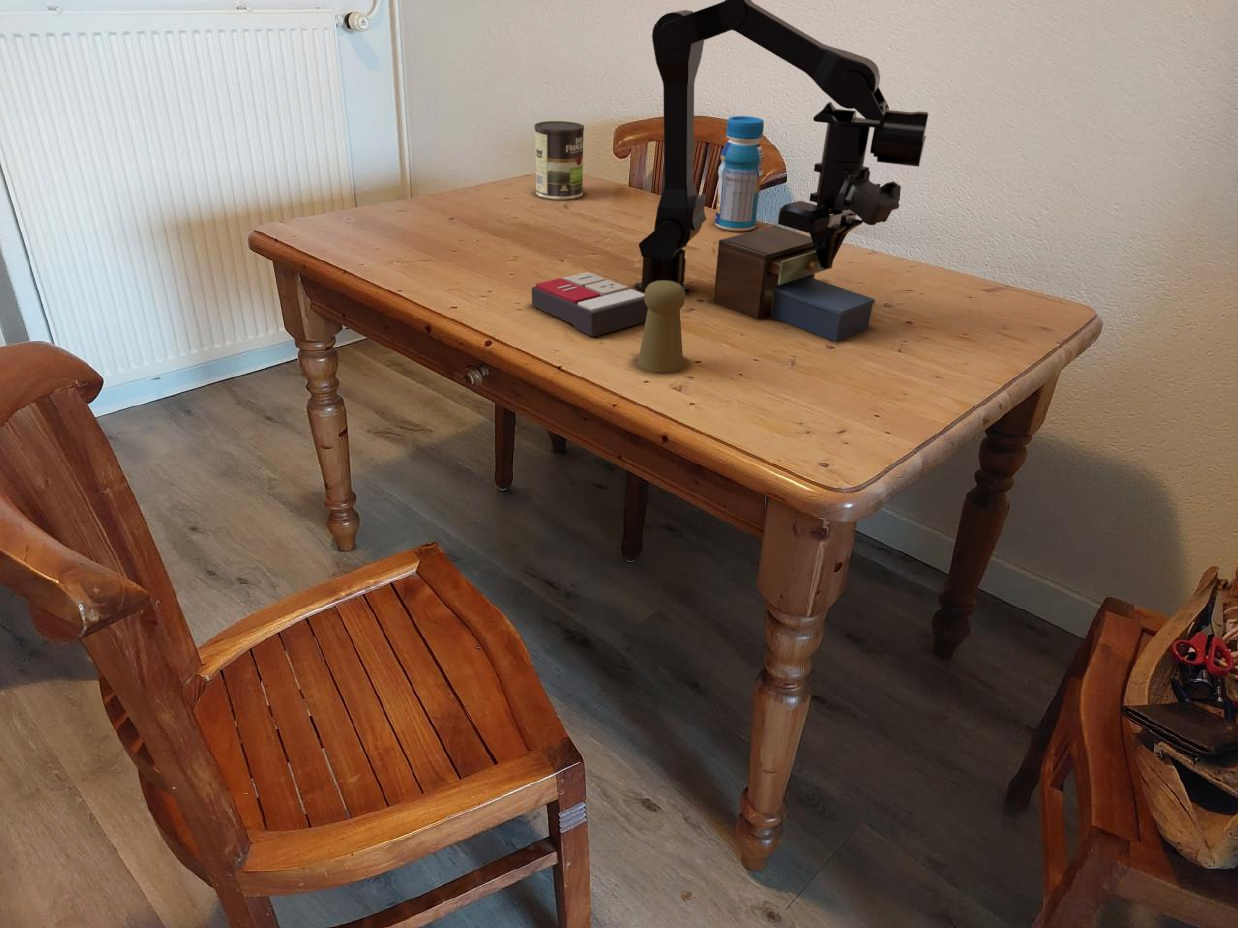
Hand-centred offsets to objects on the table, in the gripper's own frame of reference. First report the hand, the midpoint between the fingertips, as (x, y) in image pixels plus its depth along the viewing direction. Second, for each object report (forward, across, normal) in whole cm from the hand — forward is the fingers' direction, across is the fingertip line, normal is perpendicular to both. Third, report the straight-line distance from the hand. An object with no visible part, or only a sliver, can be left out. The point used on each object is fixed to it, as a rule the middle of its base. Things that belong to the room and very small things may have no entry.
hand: (825, 267), depth 129 cm
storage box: (+7, -2, -2) cm, 8 cm away
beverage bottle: (+8, +26, +39) cm, 47 cm away
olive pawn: (+8, -31, +2) cm, 32 cm away
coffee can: (+8, +12, +78) cm, 80 cm away
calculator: (+8, -28, +21) cm, 36 cm away
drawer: (+1, -2, +5) cm, 6 cm away
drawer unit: (+7, -2, +9) cm, 12 cm away
